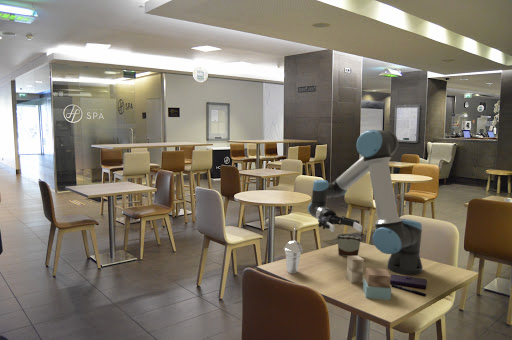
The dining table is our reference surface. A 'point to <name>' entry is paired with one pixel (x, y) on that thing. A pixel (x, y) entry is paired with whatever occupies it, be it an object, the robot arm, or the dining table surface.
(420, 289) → the dining table surface
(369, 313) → the dining table surface
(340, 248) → the food container
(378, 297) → the teal block
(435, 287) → the dining table surface
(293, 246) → the cup with straw
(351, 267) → the oak pillar
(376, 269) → the walnut block
